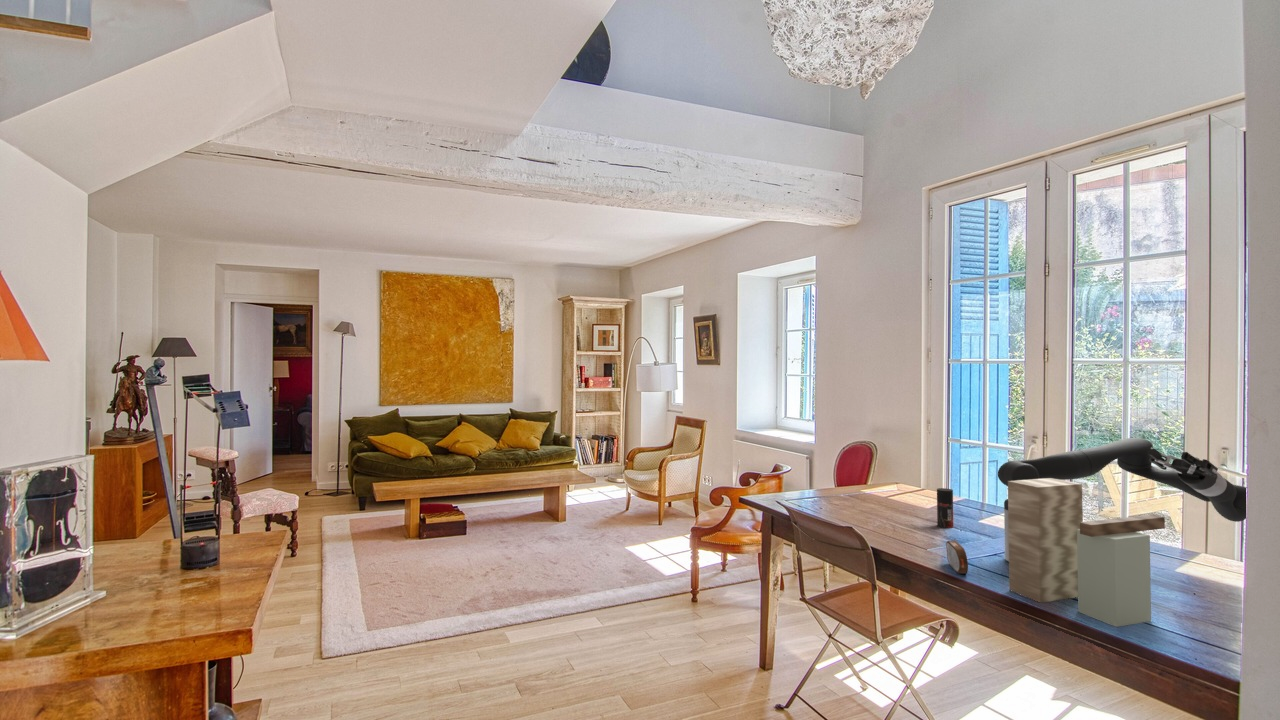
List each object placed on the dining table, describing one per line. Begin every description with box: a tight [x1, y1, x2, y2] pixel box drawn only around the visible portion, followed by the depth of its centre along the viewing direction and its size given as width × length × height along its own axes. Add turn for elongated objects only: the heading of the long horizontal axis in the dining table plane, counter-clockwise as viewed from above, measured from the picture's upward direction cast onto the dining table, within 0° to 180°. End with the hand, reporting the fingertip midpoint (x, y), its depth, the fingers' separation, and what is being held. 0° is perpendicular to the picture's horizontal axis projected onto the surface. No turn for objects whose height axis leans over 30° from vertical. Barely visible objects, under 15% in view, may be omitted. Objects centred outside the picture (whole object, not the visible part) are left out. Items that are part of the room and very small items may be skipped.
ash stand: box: [1007, 478, 1084, 603], centre depth 180 cm, size 16×10×32 cm, turn 106°
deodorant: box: [936, 487, 954, 529], centre depth 255 cm, size 6×6×15 cm
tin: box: [945, 539, 969, 575], centre depth 201 cm, size 15×3×8 cm, turn 168°
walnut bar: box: [1080, 514, 1166, 537], centre depth 164 cm, size 26×3×3 cm, turn 106°
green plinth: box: [1077, 529, 1152, 628], centre depth 163 cm, size 12×10×22 cm
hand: (1166, 452), depth 176 cm, fingers open, 8 cm apart
